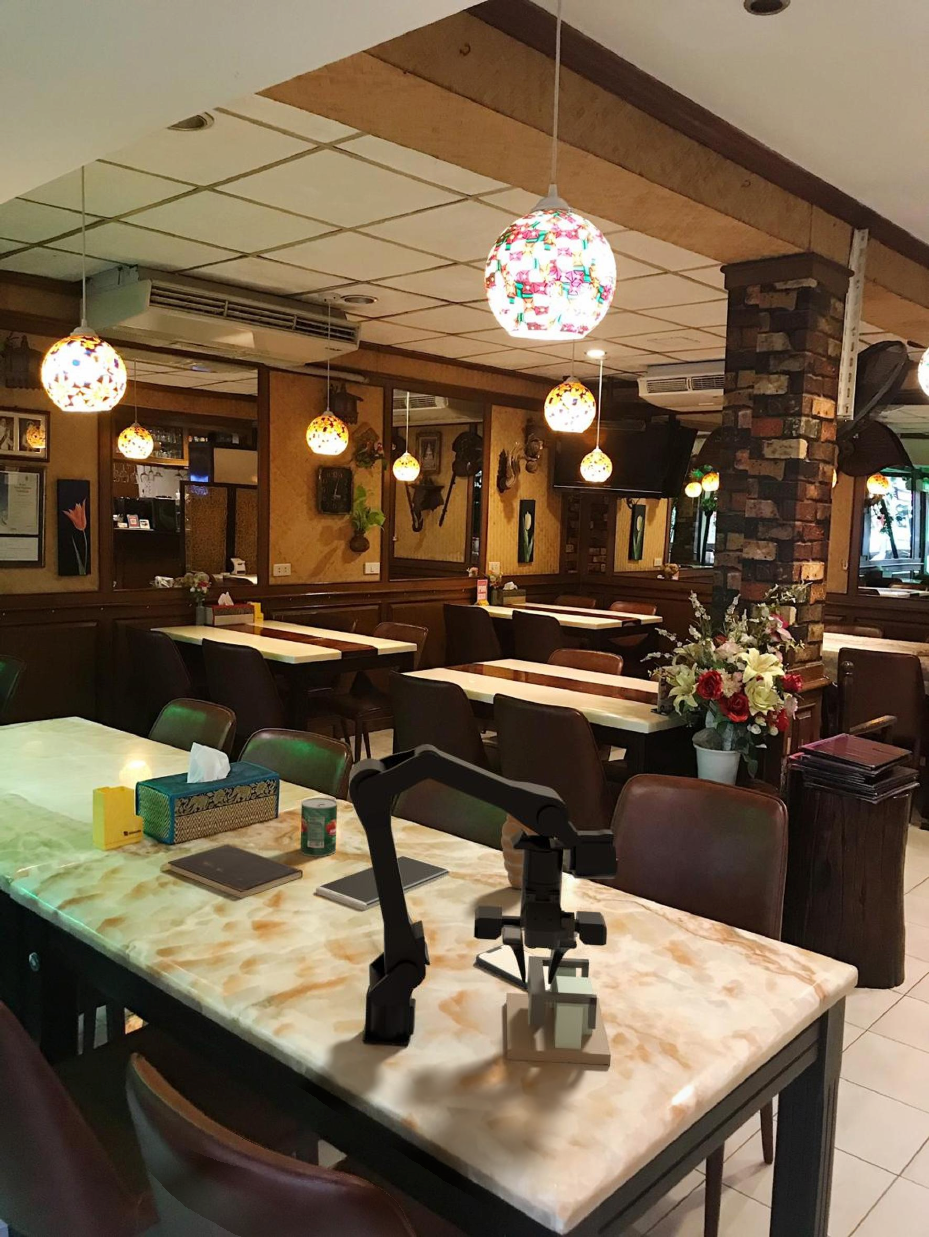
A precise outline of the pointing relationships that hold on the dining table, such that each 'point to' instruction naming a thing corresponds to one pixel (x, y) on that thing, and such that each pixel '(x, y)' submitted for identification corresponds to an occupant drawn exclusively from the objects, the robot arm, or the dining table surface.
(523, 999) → the green blocks on base
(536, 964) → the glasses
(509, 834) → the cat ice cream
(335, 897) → the smartphone
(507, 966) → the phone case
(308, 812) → the canned tomato
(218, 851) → the hardcover book
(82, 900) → the dining table surface
